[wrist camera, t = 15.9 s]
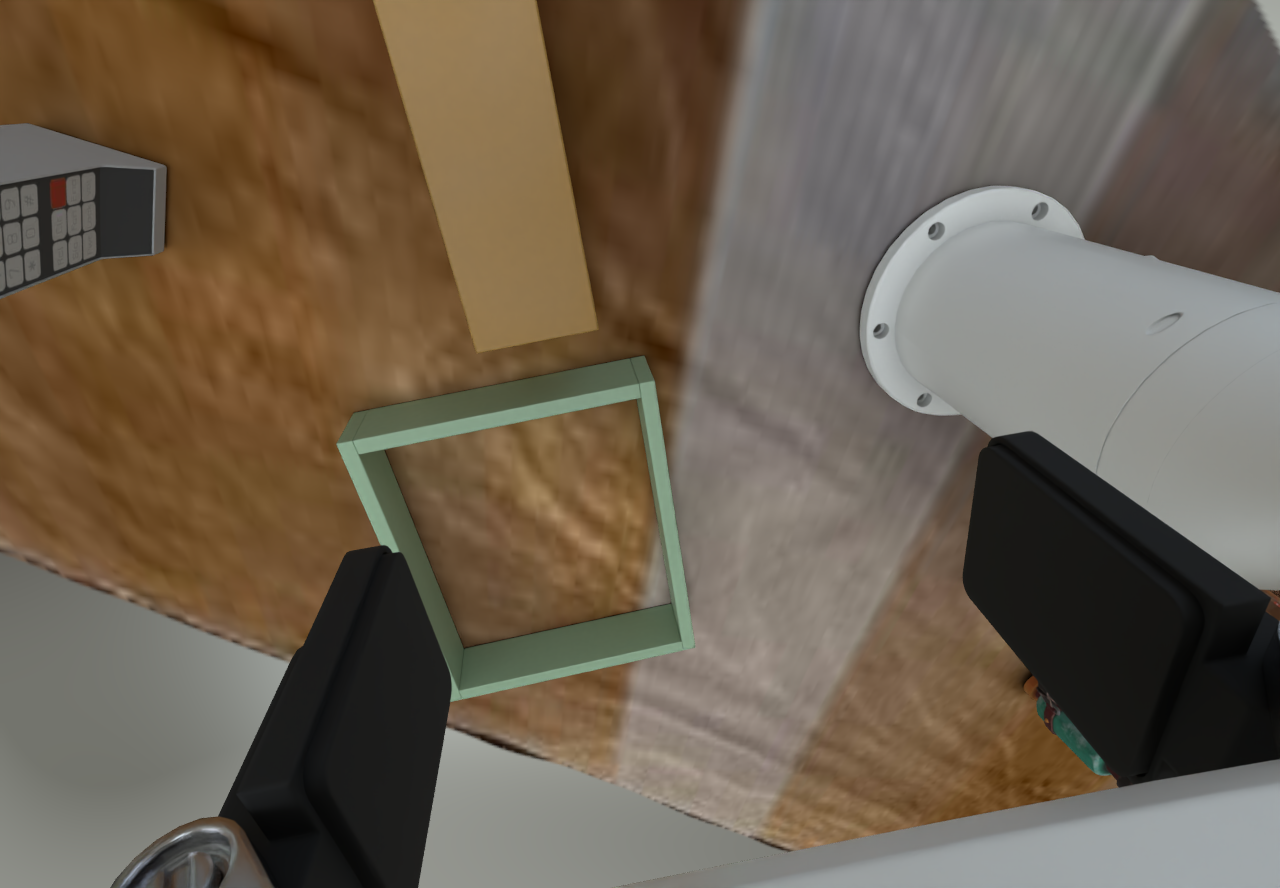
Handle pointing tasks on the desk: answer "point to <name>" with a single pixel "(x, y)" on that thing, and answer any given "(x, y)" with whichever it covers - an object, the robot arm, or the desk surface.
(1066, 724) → the binoculars
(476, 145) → the tan wooden plank
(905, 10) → the desk surface
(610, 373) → the green rectangular open frame
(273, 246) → the desk surface
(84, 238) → the vintage mobile phone
